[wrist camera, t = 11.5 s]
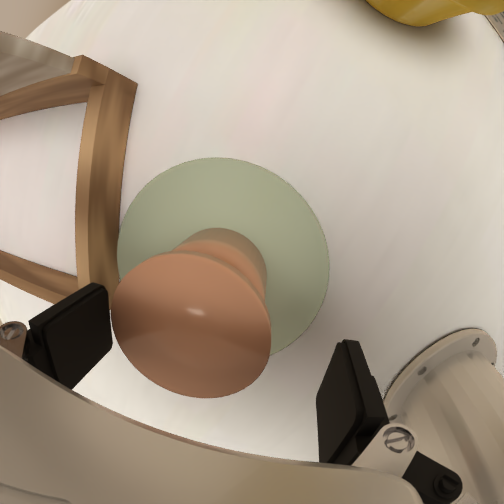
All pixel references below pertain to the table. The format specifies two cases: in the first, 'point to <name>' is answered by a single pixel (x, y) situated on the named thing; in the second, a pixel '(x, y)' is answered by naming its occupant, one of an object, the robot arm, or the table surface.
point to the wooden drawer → (90, 157)
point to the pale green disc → (242, 221)
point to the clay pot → (197, 315)
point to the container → (497, 23)
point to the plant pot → (433, 9)
